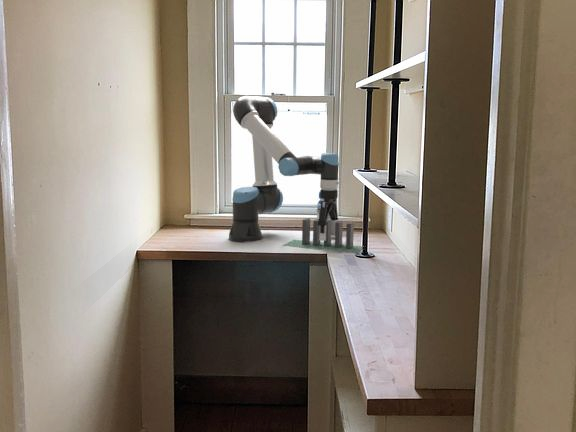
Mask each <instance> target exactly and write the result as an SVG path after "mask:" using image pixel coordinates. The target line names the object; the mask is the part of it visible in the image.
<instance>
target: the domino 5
mask: <svg viewBox="0 0 576 432" xmlns="http://www.w3.org/2000/svg"><path fill="white" fill-rule="evenodd" d="M354 231H355V222H354V221H349V222H347V223H346V231H345V232H346V233H345V234H346V235H345V237H346V239H345V245H346V249H351V248H352V247H353V246H354V235H355V234H354V233H355V232H354Z"/></svg>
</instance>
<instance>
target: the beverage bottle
mask: <svg viewBox="0 0 576 432" xmlns="http://www.w3.org/2000/svg"><path fill="white" fill-rule="evenodd" d="M321 202H324V199H322V198H320V191H318V202H317V205H316V207H317V209H316V219H319V215H320V209H321ZM327 220H331V219H330V215H329V214H328V218H327Z"/></svg>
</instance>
